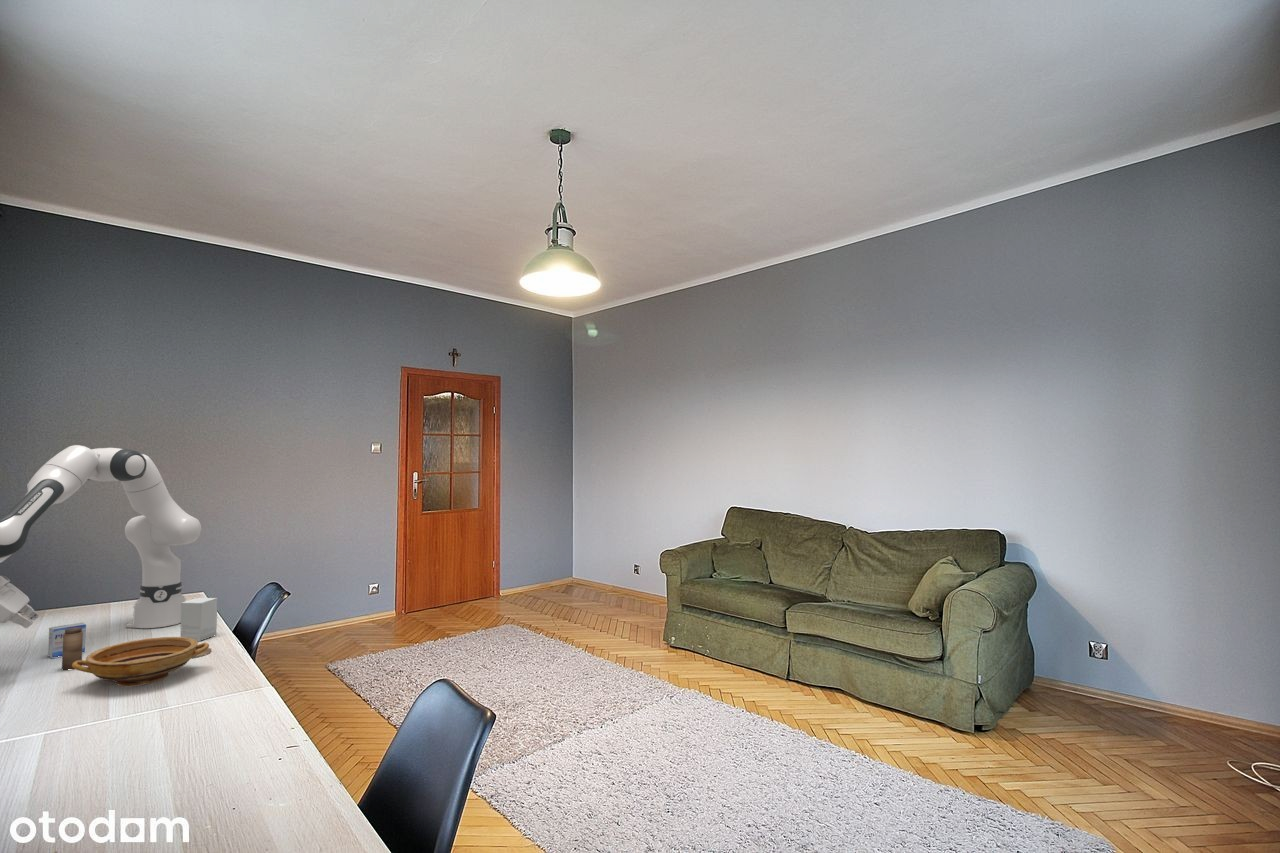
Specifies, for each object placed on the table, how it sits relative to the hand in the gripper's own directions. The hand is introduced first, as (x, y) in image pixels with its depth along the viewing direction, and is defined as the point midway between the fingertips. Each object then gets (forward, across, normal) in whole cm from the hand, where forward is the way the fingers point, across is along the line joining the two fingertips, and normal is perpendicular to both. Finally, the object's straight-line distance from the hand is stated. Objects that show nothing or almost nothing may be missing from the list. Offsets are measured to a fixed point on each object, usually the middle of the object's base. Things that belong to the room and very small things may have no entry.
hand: (33, 621), depth 177 cm
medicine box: (+14, +17, +6) cm, 23 cm away
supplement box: (+38, +15, -17) cm, 44 cm away
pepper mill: (+16, 0, +4) cm, 17 cm away
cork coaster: (+36, -4, -16) cm, 39 cm away
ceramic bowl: (+28, -22, -8) cm, 37 cm away
